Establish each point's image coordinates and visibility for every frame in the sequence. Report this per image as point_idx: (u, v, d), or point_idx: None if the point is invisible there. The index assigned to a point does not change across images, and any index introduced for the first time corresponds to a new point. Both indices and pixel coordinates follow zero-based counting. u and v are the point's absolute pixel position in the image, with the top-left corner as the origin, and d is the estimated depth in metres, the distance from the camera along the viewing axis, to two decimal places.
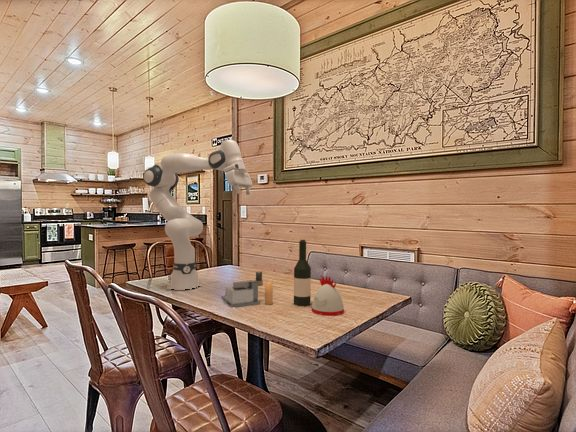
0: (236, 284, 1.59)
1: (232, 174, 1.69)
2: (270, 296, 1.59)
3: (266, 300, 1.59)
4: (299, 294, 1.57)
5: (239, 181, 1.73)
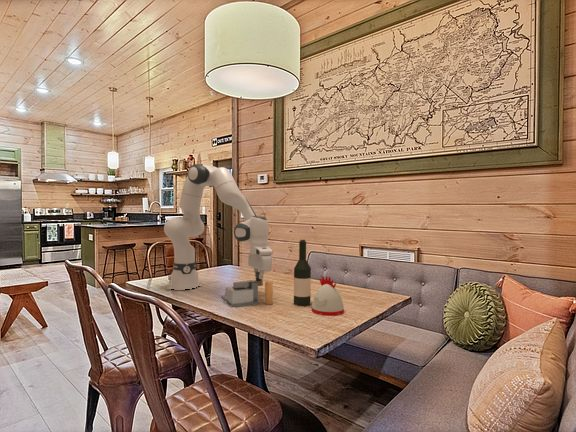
0: (236, 284, 1.59)
1: (270, 261, 1.57)
2: (270, 296, 1.59)
3: (266, 300, 1.59)
4: (299, 294, 1.57)
5: None
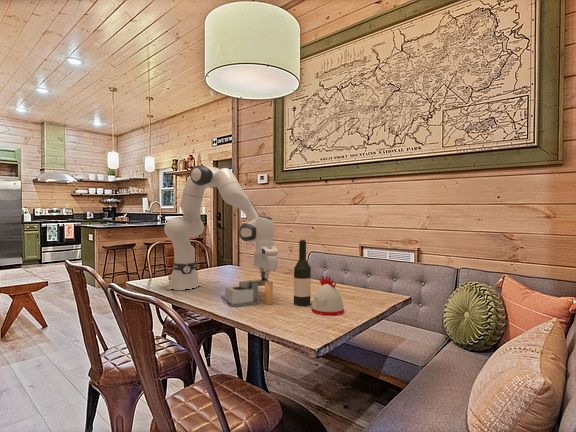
0: (242, 283, 1.60)
1: (276, 261, 1.59)
2: (270, 296, 1.59)
3: (266, 300, 1.59)
4: (299, 294, 1.57)
5: None
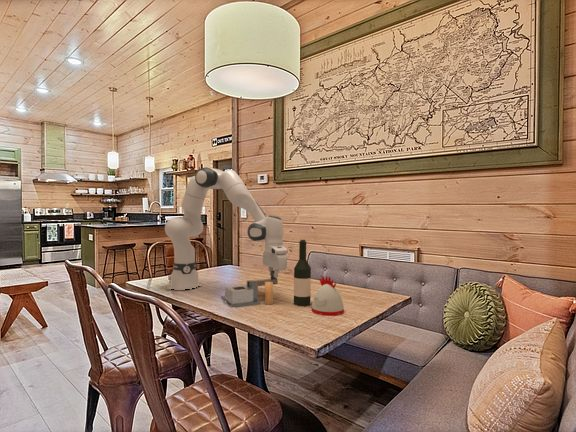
0: None
1: (286, 260, 1.61)
2: (270, 296, 1.59)
3: (266, 300, 1.59)
4: (300, 294, 1.57)
5: None
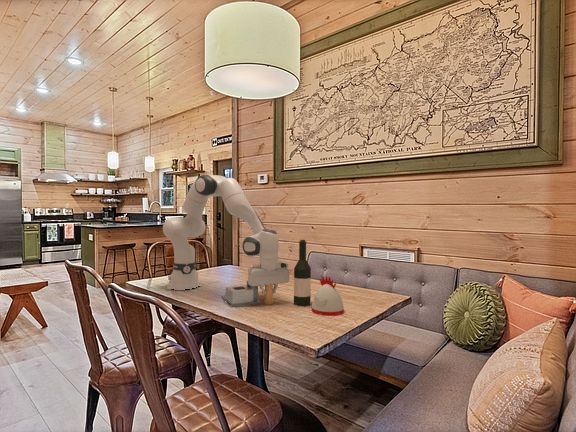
0: None
1: None
2: (270, 296, 1.59)
3: (266, 300, 1.59)
4: (299, 294, 1.57)
5: None
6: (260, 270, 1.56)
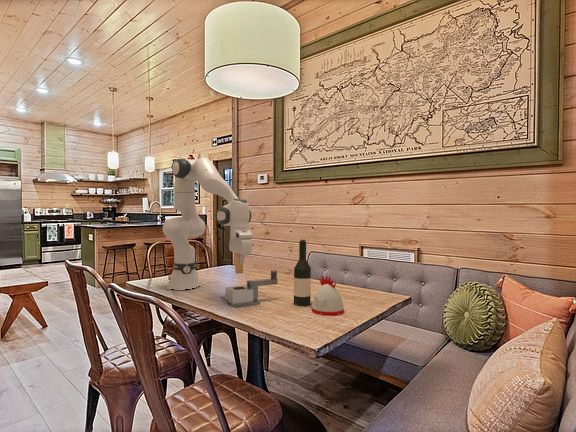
0: None
1: (250, 245, 1.53)
2: (235, 265, 1.60)
3: None
4: (299, 294, 1.57)
5: None
6: (232, 237, 1.64)
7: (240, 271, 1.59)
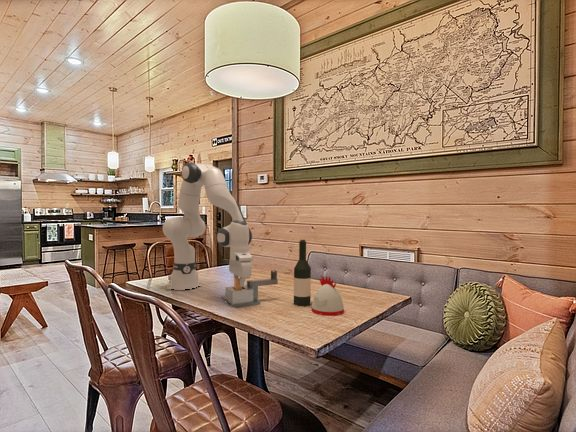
0: None
1: (250, 268, 1.53)
2: None
3: None
4: (299, 294, 1.57)
5: None
6: None
7: None
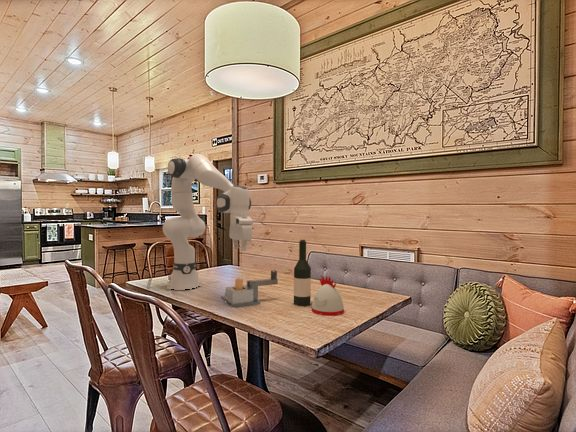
0: None
1: (251, 231, 1.52)
2: None
3: None
4: (299, 294, 1.57)
5: None
6: (232, 224, 1.64)
7: None
